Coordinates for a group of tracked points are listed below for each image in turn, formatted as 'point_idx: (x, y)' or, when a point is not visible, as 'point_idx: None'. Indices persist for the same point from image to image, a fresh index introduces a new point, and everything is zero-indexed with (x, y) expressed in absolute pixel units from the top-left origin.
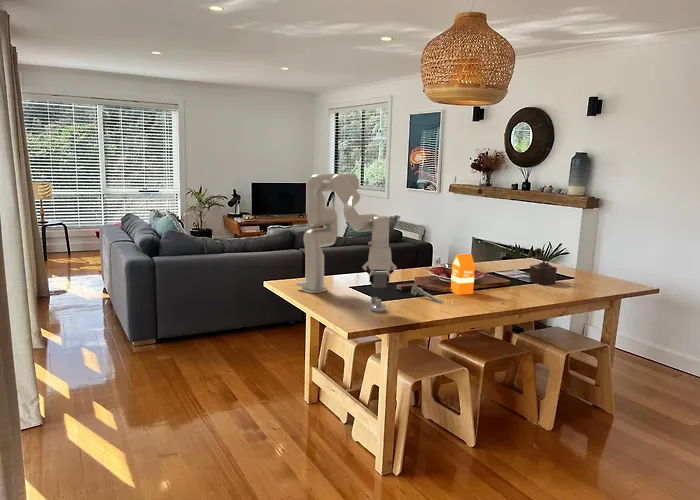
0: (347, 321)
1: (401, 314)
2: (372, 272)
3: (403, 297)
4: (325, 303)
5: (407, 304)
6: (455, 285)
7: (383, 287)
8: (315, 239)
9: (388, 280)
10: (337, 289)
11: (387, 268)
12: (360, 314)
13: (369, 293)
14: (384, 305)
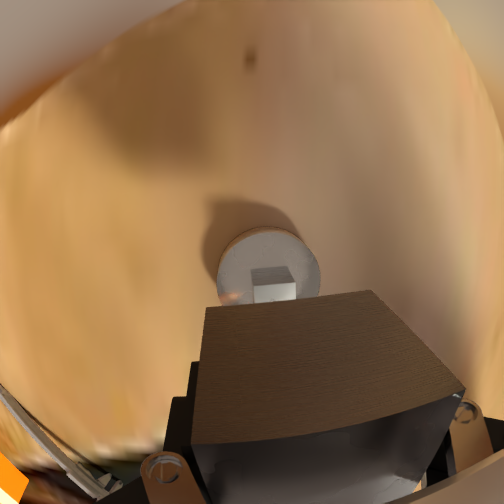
0: (429, 70)
1: (122, 209)
2: (459, 443)
3: None
4: (478, 342)
5: (109, 386)
6: (3, 480)
7: (246, 305)
8: None
9: (179, 409)
10: None
11: None
12: (373, 186)
13: None
14: (225, 305)
